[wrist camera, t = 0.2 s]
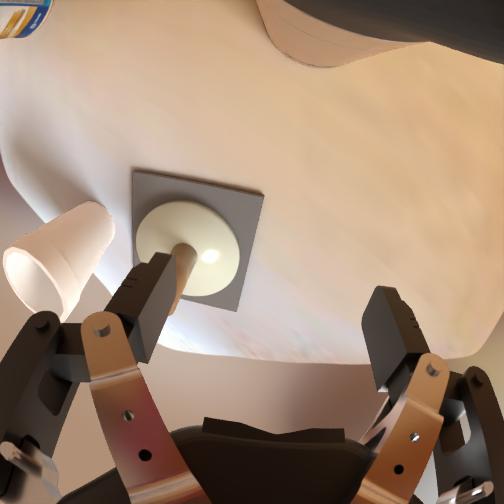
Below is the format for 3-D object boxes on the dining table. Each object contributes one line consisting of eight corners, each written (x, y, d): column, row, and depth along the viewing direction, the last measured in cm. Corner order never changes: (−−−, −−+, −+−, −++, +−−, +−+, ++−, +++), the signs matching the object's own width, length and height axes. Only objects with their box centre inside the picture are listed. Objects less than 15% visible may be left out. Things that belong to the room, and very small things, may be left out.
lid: (140, 190, 29) (94, 233, 21) (249, 213, 29) (235, 267, 21) (141, 276, 35) (110, 327, 28) (231, 299, 36) (216, 358, 28)
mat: (135, 170, 28) (132, 171, 28) (264, 195, 28) (263, 197, 28) (137, 283, 37) (135, 286, 36) (237, 308, 37) (236, 311, 37)
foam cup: (63, 231, 34) (5, 289, 23) (75, 176, 29) (0, 229, 18) (115, 266, 36) (66, 336, 25) (135, 214, 31) (72, 285, 20)
